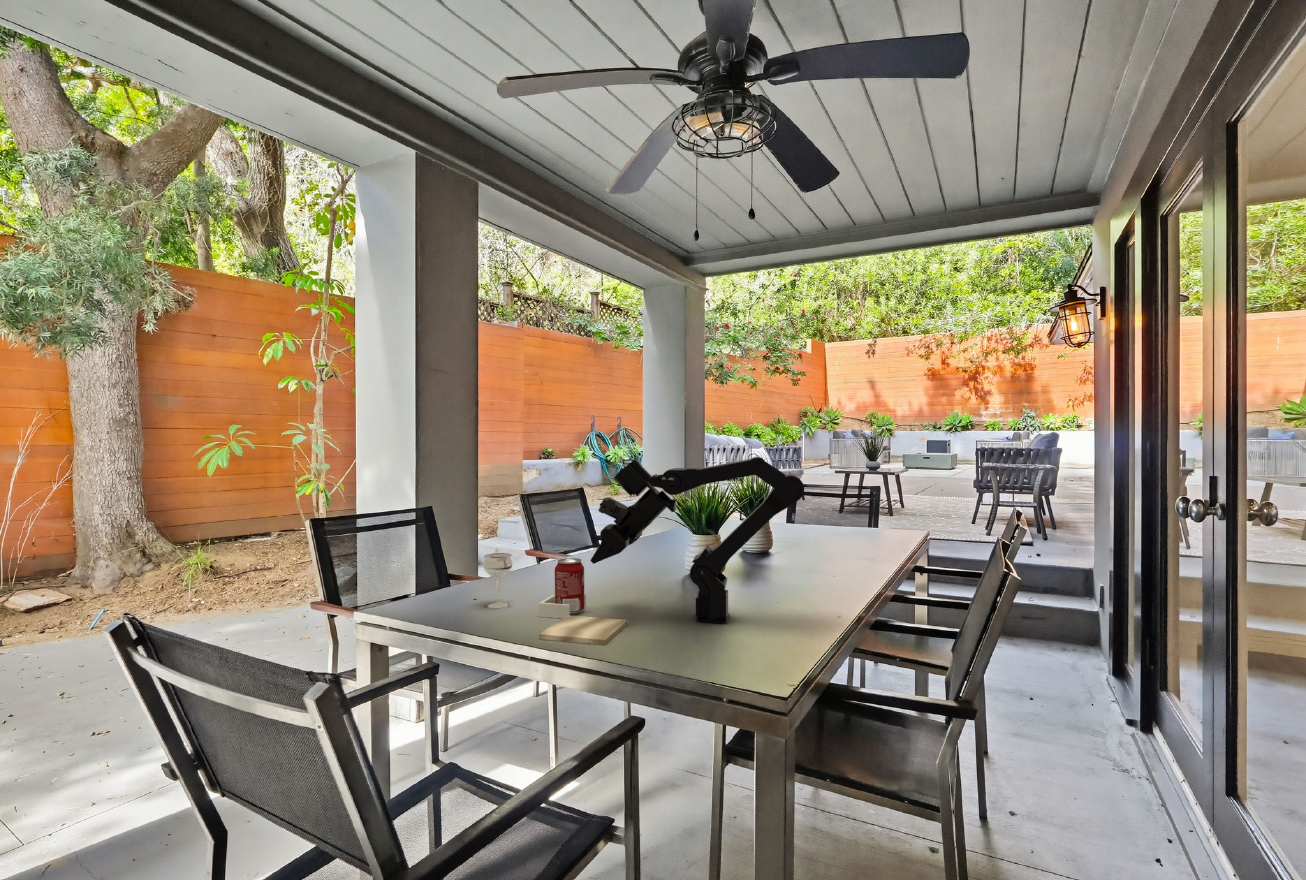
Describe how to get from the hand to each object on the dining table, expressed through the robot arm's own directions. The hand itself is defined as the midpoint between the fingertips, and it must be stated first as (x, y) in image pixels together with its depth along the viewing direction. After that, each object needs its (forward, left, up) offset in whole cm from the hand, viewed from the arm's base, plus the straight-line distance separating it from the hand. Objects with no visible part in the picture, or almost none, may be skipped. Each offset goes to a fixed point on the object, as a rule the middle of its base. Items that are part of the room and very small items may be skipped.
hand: (597, 558), depth 144 cm
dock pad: (-2, +14, -13) cm, 19 cm away
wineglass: (+26, 0, -13) cm, 29 cm away
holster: (+8, +1, -13) cm, 15 cm away
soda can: (+7, +1, -13) cm, 14 cm away
